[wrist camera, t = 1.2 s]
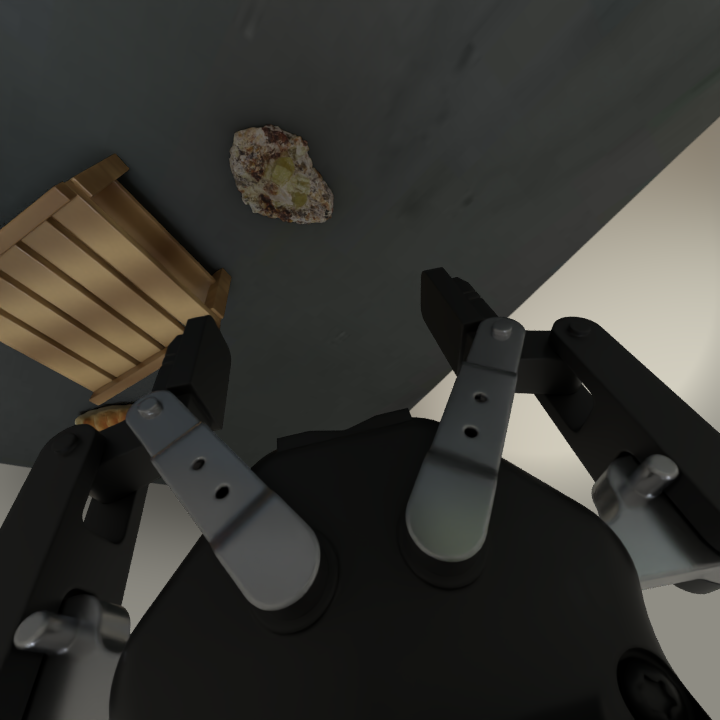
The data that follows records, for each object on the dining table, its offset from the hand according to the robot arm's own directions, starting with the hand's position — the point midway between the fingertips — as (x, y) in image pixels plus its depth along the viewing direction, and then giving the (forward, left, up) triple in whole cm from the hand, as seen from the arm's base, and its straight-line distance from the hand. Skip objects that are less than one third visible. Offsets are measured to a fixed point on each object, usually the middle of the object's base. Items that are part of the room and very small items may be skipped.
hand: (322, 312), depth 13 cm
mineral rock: (+1, -2, -26) cm, 26 cm away
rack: (-1, -21, -26) cm, 33 cm away
